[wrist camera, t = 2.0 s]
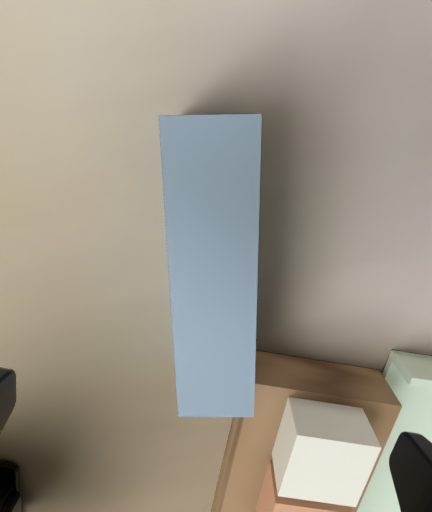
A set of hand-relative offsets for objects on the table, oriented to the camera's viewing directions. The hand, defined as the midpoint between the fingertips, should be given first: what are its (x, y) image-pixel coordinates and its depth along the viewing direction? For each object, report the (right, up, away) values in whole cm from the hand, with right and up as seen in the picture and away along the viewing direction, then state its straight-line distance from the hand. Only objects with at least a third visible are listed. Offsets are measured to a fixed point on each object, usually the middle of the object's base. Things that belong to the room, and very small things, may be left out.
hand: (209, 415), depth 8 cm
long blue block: (0, +4, +11) cm, 12 cm away
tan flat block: (+5, -9, +16) cm, 19 cm away
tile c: (+6, -6, +11) cm, 14 cm away
